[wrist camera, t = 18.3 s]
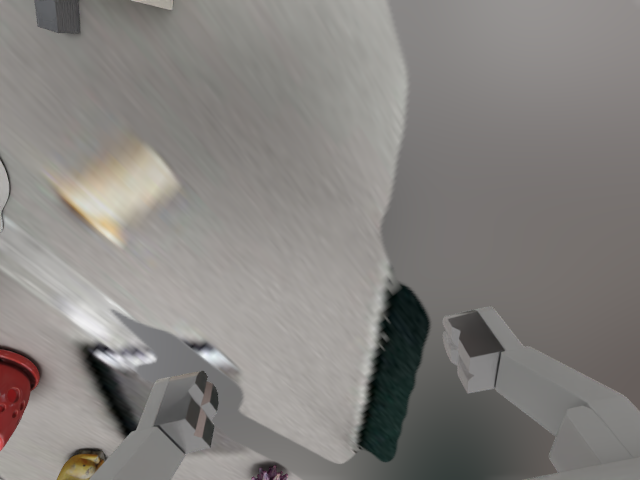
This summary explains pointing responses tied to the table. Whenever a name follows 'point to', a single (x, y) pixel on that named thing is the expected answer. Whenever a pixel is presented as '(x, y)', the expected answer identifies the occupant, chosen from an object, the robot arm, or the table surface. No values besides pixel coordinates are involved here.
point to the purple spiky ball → (270, 475)
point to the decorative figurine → (82, 465)
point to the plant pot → (14, 390)
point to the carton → (158, 3)
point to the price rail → (58, 15)
